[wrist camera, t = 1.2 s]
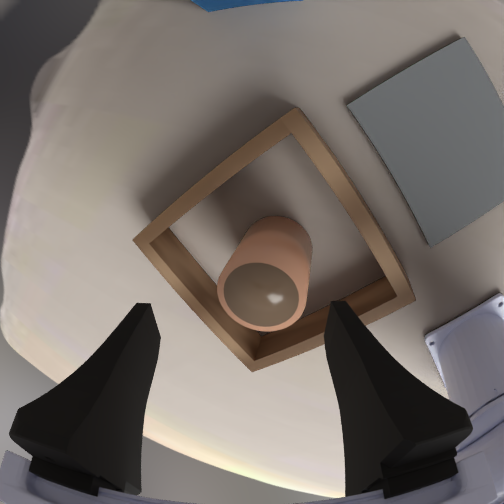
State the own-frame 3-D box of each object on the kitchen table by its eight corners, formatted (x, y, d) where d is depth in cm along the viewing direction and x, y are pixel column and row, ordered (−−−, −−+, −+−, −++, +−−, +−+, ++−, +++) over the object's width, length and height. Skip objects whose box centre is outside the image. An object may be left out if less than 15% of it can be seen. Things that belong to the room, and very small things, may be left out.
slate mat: (528, 179, 15) (531, 181, 15) (428, 244, 19) (430, 247, 19) (461, 38, 12) (464, 36, 12) (346, 105, 17) (346, 105, 16)
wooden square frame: (407, 277, 21) (416, 300, 18) (259, 347, 27) (252, 372, 24) (299, 107, 18) (294, 107, 15) (152, 224, 24) (132, 239, 21)
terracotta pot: (325, 259, 22) (323, 310, 16) (270, 289, 24) (252, 342, 19) (285, 202, 21) (269, 238, 15) (229, 239, 23) (199, 282, 18)
